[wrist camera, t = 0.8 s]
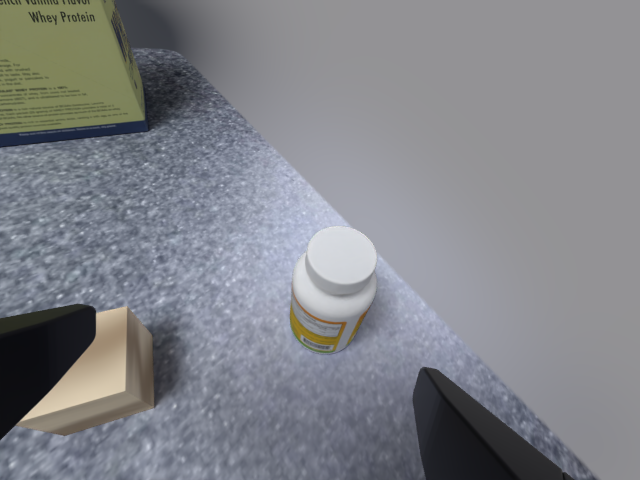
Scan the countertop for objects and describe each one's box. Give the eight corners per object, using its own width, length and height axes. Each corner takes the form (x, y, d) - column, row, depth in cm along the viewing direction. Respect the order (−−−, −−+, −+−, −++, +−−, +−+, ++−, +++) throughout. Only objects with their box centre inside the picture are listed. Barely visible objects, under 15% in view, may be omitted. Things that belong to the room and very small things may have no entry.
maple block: (154, 408, 20) (125, 390, 17) (65, 436, 19) (9, 424, 15) (152, 335, 23) (127, 306, 19) (74, 355, 22) (29, 328, 18)
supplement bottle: (337, 283, 27) (360, 206, 20) (368, 339, 25) (409, 275, 17) (279, 304, 26) (279, 229, 18) (305, 367, 23) (318, 311, 15)
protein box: (152, 131, 37) (90, -39, 25) (-10, 150, 33) (-183, -48, 21) (146, 87, 43) (93, -70, 31) (7, 98, 38) (-120, -82, 26)
